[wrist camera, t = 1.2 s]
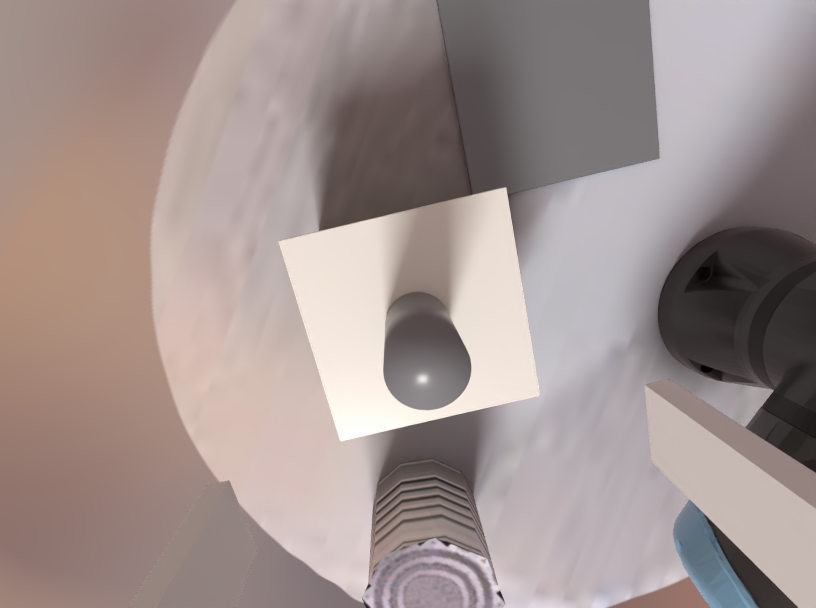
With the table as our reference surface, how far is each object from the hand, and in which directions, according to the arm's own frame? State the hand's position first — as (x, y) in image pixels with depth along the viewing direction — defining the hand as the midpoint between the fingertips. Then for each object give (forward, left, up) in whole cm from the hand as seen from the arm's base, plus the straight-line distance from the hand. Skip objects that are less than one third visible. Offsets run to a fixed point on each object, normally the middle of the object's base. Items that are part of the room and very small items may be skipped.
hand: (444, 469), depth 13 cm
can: (+4, +24, -28) cm, 37 cm away
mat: (-16, -15, -27) cm, 35 cm away
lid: (0, 0, -18) cm, 18 cm away
